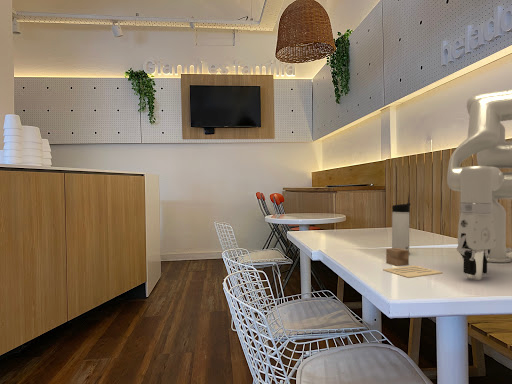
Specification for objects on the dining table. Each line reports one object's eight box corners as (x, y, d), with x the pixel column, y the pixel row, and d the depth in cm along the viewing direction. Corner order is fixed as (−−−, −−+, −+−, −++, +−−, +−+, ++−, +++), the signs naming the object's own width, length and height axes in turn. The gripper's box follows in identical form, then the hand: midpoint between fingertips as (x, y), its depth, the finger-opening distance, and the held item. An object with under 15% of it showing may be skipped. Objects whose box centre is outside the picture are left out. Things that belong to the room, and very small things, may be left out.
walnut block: (397, 262, 119) (397, 248, 118) (408, 265, 114) (408, 250, 114) (386, 263, 117) (386, 248, 117) (397, 266, 112) (397, 251, 112)
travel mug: (412, 255, 129) (412, 203, 129) (393, 255, 131) (394, 203, 130) (408, 252, 135) (408, 203, 135) (390, 252, 137) (390, 202, 136)
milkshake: (459, 276, 99) (458, 242, 99) (478, 276, 99) (477, 242, 98) (468, 280, 94) (468, 245, 94) (488, 280, 94) (487, 244, 94)
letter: (415, 266, 112) (415, 265, 112) (442, 273, 102) (442, 272, 102) (382, 270, 106) (382, 269, 106) (408, 277, 97) (408, 276, 97)
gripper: (468, 210, 89) (467, 279, 90) (508, 209, 96) (508, 273, 96) (443, 209, 96) (442, 272, 97) (482, 208, 103) (481, 267, 103)
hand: (475, 272), depth 96 cm, fingers closed on milkshake, 4 cm apart
